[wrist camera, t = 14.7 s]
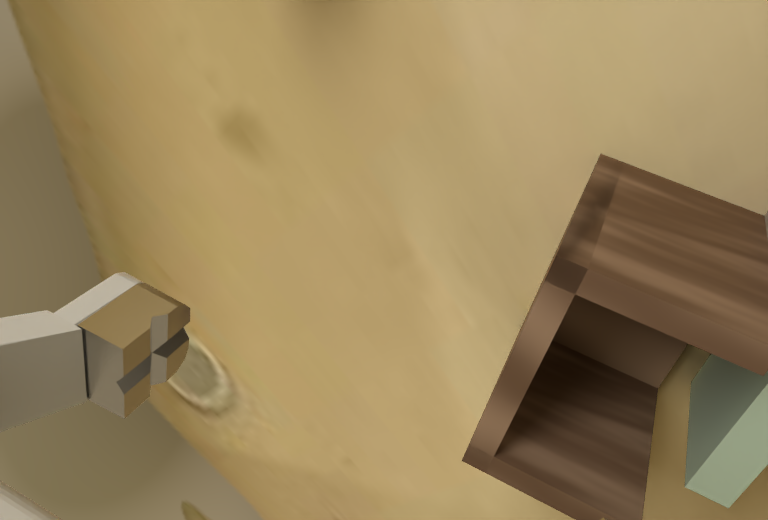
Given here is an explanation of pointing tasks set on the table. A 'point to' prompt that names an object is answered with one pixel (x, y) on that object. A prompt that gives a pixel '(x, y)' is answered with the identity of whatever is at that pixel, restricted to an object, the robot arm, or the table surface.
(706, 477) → the door
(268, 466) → the table surface
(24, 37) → the table surface
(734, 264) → the cabinet
